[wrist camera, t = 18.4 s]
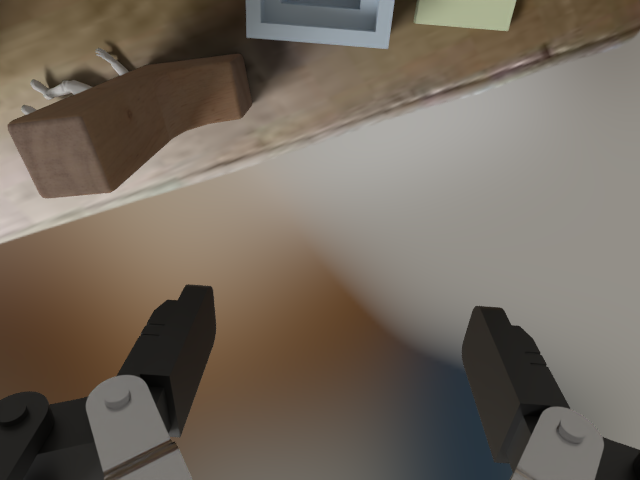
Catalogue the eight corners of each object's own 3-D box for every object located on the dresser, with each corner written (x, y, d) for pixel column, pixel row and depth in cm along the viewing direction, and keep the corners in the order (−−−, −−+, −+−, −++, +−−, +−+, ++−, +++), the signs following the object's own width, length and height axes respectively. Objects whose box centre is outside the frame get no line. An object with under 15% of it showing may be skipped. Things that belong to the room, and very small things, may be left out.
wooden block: (243, 52, 37) (166, 103, 21) (253, 105, 39) (191, 187, 24) (142, 65, 38) (0, 123, 22) (158, 116, 40) (39, 201, 25)
